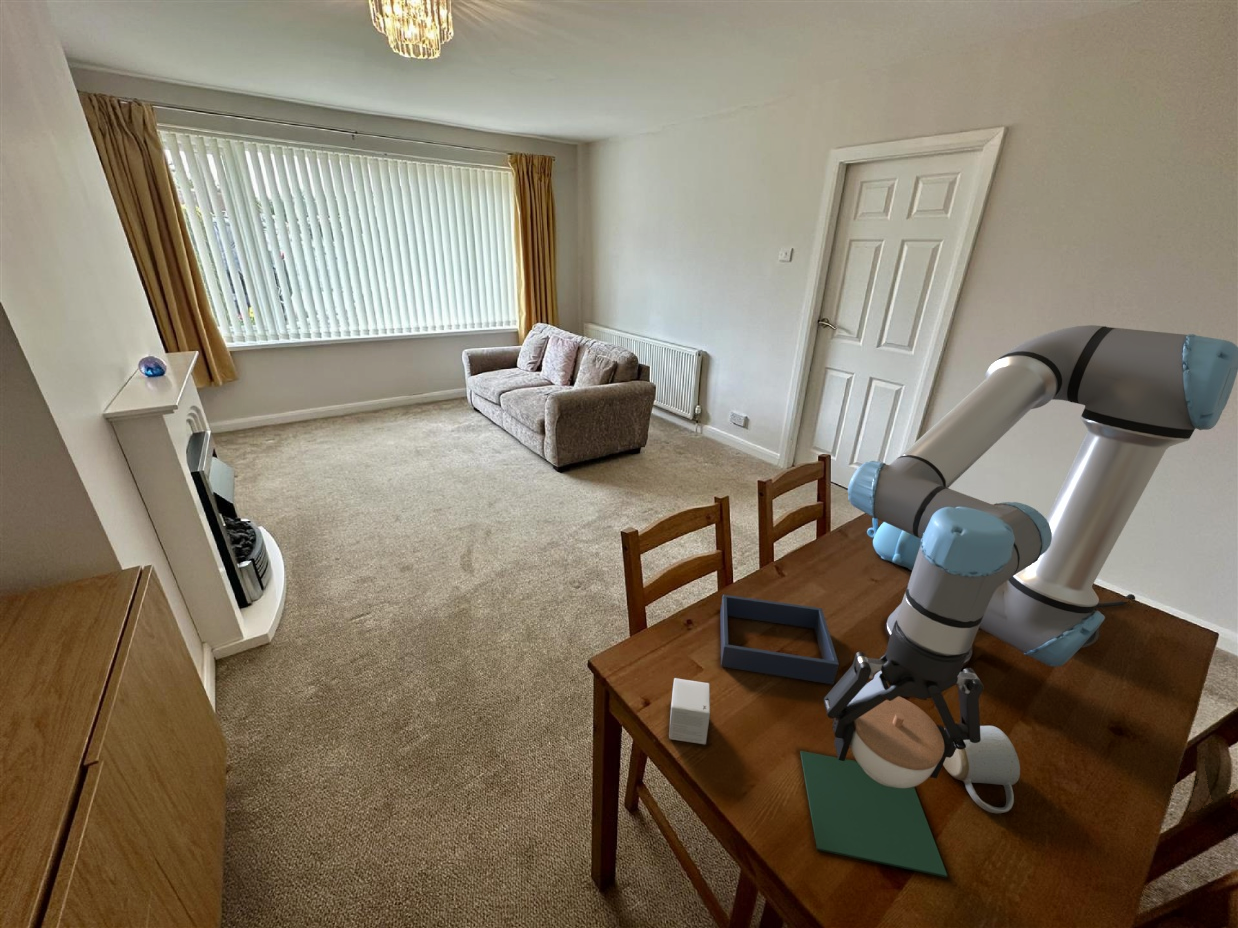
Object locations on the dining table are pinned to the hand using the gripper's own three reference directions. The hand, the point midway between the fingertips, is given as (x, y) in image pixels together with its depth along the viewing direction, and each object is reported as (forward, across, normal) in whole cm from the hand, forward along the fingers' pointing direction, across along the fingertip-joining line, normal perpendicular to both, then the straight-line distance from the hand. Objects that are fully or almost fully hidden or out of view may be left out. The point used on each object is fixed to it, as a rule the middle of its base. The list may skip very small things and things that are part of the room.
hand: (883, 759), depth 65 cm
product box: (+11, +26, -8) cm, 29 cm away
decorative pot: (+11, -28, -70) cm, 77 cm away
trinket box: (+1, 0, 0) cm, 1 cm away
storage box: (+11, +10, -30) cm, 33 cm away
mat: (+11, 0, 0) cm, 11 cm away
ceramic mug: (+11, -18, -8) cm, 23 cm away
